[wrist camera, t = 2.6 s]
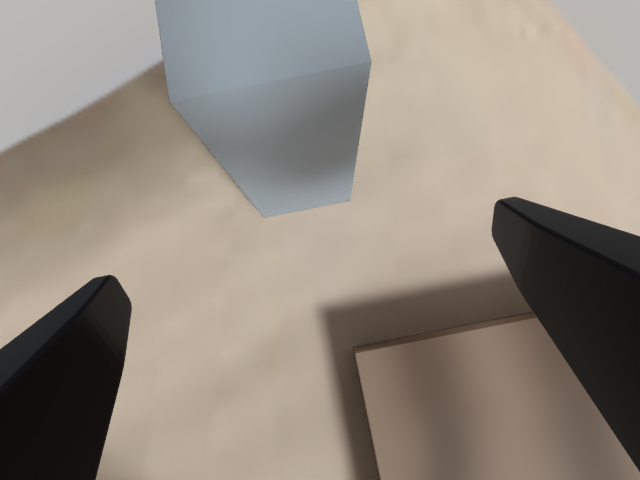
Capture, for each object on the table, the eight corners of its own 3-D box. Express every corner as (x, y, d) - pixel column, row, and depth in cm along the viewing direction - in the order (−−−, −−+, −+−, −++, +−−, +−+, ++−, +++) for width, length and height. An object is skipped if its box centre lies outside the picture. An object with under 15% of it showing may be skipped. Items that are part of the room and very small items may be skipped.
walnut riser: (412, 643, 19) (424, 695, 16) (352, 347, 21) (355, 353, 18) (783, 571, 19) (852, 613, 16) (682, 282, 21) (729, 279, 18)
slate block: (264, 217, 22) (169, 101, 9) (250, 137, 23) (144, -71, 10) (349, 200, 22) (371, 61, 9) (332, 120, 23) (331, -108, 10)
